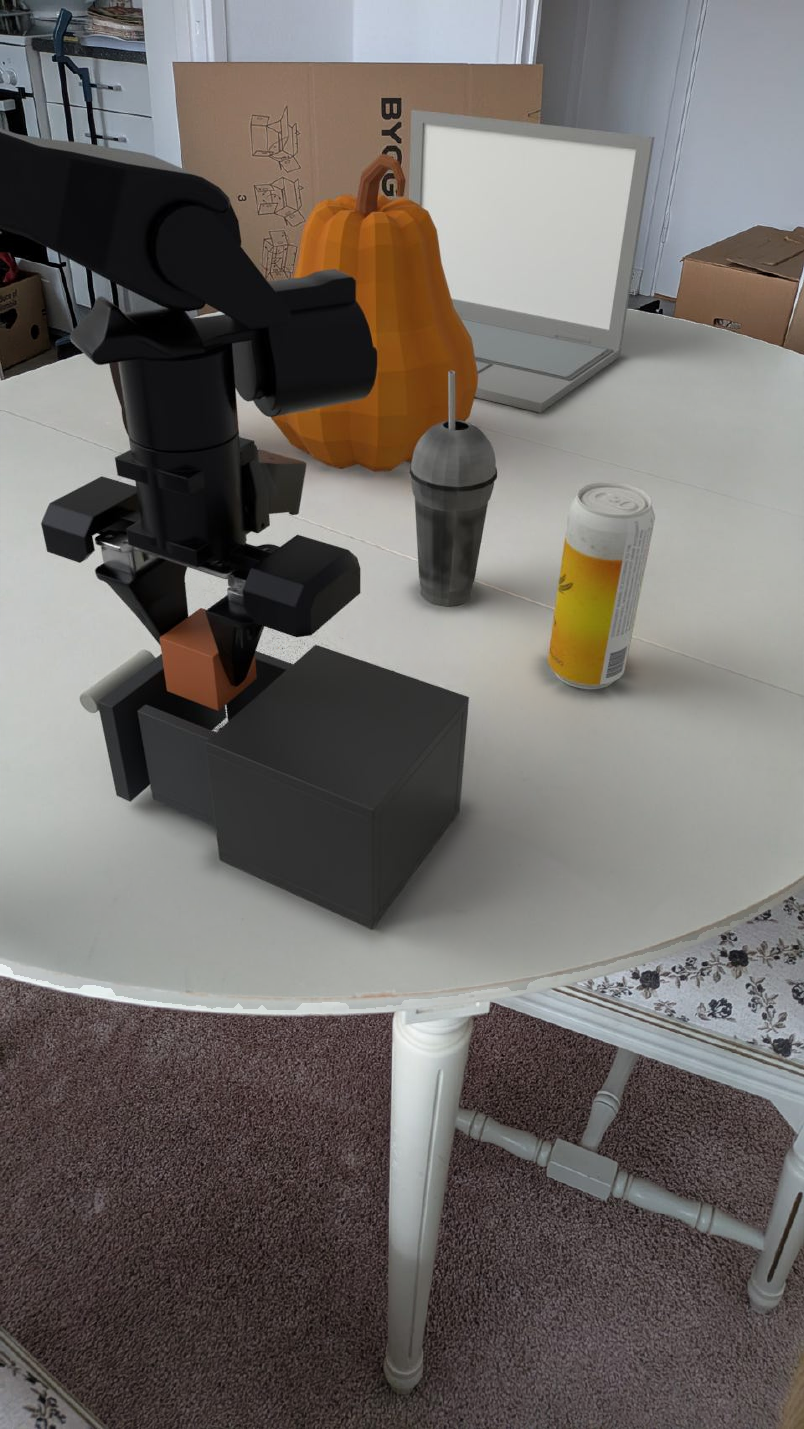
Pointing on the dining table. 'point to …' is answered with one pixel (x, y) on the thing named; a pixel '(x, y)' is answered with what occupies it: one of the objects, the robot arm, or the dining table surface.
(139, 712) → the drawer
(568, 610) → the beer can
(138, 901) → the dining table surface
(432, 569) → the beverage cup
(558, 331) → the laptop
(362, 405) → the decorative pumpkin
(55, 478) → the dining table surface
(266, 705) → the cabinet
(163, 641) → the block
